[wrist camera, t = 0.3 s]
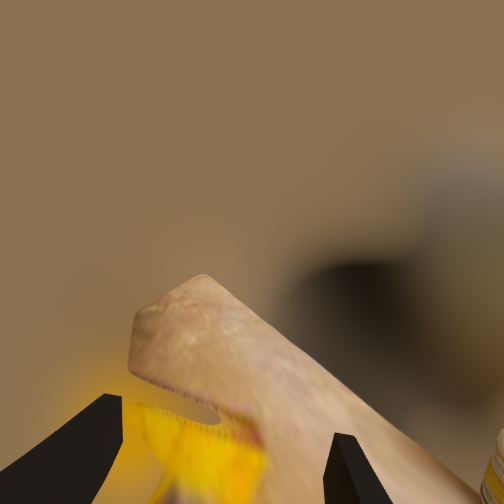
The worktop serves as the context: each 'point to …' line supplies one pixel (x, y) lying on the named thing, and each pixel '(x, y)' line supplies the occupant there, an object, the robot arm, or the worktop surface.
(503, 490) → the supplement bottle
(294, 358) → the worktop surface
